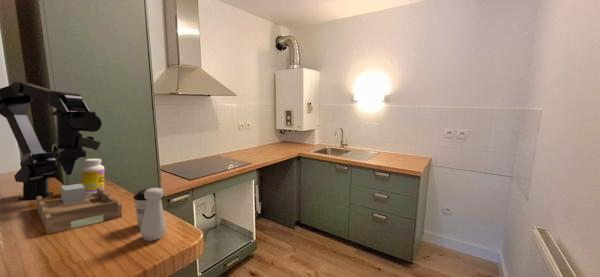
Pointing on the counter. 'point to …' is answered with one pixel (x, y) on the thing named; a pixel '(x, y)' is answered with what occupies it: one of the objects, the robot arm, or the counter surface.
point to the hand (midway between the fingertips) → (68, 174)
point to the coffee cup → (140, 206)
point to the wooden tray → (78, 211)
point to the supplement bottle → (93, 176)
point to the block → (72, 193)
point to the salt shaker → (153, 215)
